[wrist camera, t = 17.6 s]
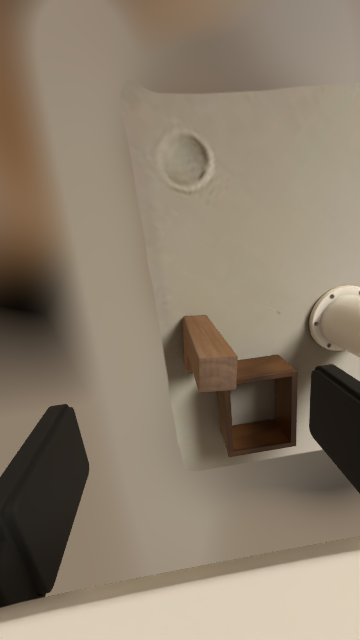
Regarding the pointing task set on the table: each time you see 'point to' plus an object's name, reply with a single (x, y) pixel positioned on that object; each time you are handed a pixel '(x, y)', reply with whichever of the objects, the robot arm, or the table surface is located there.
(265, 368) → the wooden box
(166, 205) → the table surface
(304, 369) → the table surface
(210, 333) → the wooden block
